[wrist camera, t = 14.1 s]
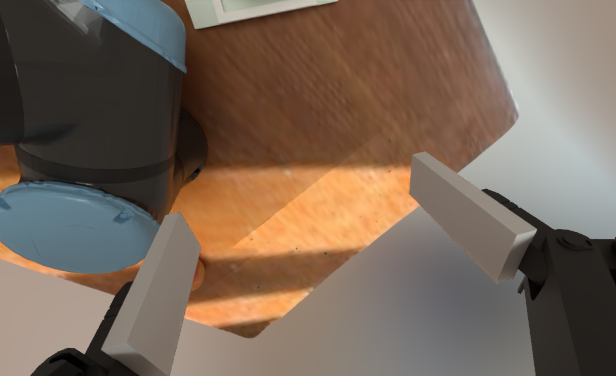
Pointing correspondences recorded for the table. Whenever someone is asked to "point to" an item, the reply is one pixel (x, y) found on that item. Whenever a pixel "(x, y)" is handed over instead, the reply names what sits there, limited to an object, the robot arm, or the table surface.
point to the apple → (198, 276)
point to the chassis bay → (241, 9)
